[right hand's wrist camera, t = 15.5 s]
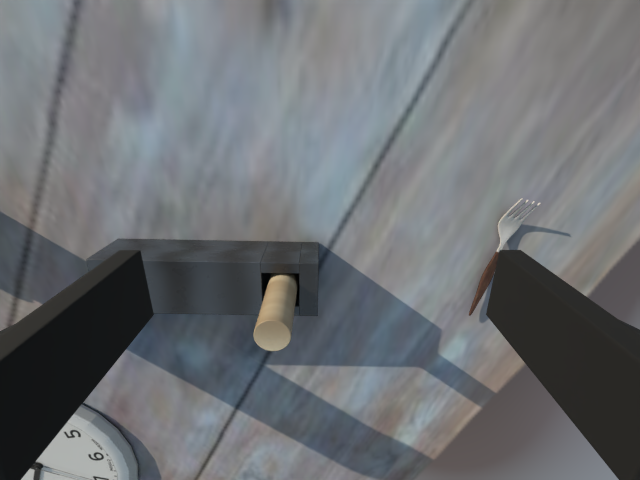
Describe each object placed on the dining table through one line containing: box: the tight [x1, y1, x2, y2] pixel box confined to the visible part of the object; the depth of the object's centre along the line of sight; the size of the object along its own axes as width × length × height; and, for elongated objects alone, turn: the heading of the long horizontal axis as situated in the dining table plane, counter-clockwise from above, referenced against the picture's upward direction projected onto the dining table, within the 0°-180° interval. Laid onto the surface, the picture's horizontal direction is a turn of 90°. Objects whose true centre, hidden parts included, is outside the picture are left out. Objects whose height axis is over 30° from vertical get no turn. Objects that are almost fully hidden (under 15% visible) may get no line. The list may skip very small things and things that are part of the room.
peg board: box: [86, 239, 319, 316], centre depth 39 cm, size 24×6×6 cm, turn 89°
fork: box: [469, 198, 541, 316], centre depth 40 cm, size 3×16×2 cm, turn 167°
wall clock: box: [21, 404, 138, 480], centre depth 53 cm, size 30×2×30 cm
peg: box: [254, 273, 299, 351], centre depth 35 cm, size 3×3×14 cm
